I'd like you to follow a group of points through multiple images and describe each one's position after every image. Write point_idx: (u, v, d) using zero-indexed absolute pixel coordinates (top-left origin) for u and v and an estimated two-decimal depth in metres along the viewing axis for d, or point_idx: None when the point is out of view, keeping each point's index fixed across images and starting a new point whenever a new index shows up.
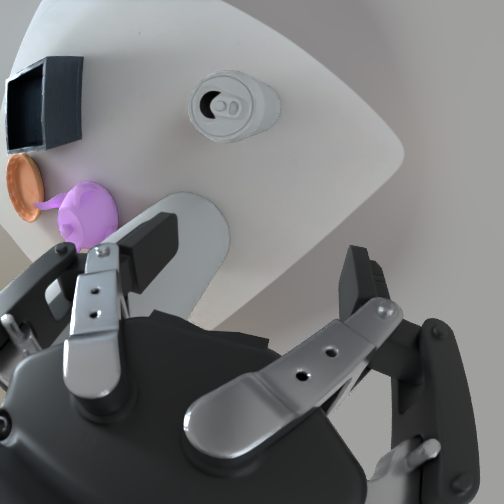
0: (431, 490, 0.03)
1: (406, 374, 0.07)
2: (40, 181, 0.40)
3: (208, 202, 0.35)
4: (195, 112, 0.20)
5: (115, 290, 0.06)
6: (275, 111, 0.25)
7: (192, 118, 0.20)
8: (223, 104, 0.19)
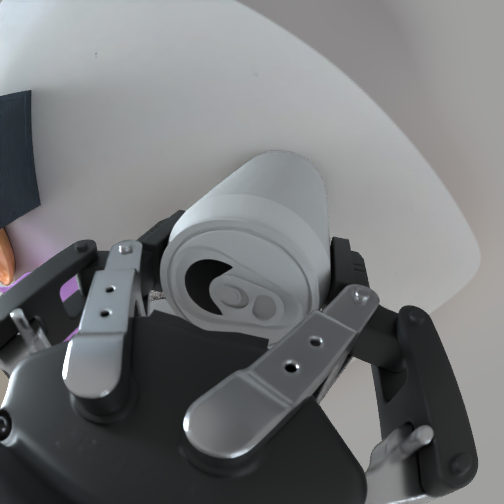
0: (430, 474, 0.03)
1: (384, 361, 0.07)
2: (6, 245, 0.30)
3: None
4: (178, 295, 0.10)
5: (130, 291, 0.06)
6: None
7: (173, 304, 0.10)
8: (241, 295, 0.09)
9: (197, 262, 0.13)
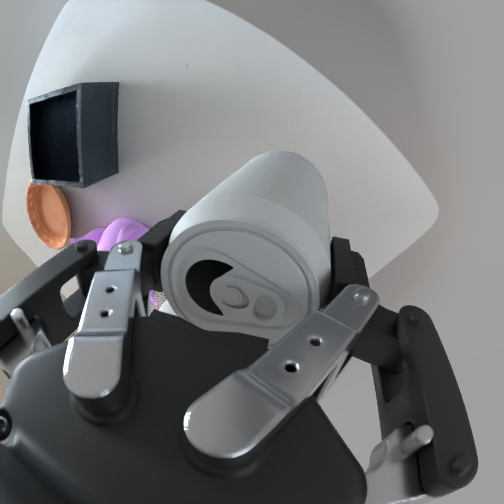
0: (431, 474, 0.03)
1: (384, 361, 0.07)
2: (68, 210, 0.43)
3: None
4: (178, 295, 0.10)
5: (130, 291, 0.06)
6: None
7: (174, 304, 0.10)
8: (241, 295, 0.09)
9: (198, 262, 0.13)
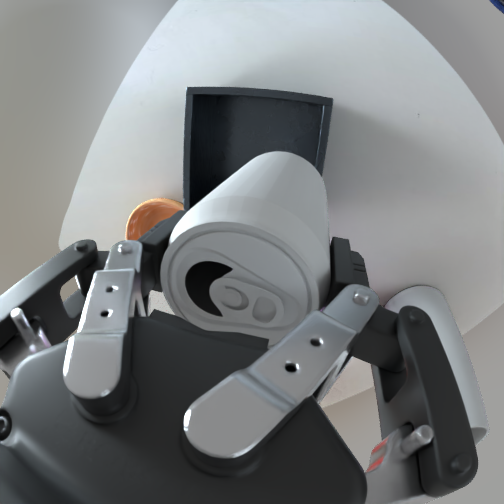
0: (430, 474, 0.03)
1: (384, 361, 0.07)
2: None
3: None
4: (178, 296, 0.10)
5: (130, 291, 0.06)
6: None
7: (174, 305, 0.10)
8: (241, 297, 0.09)
9: (197, 263, 0.13)
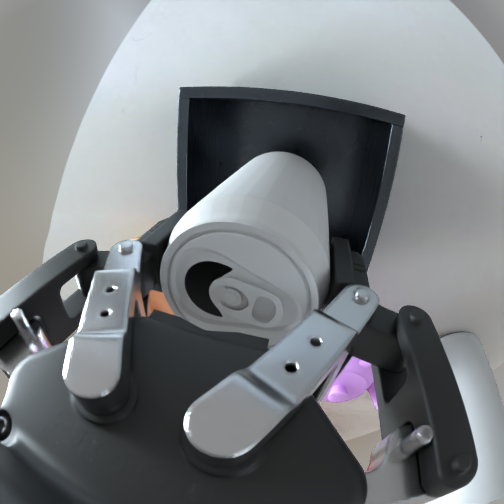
0: (430, 474, 0.03)
1: (384, 361, 0.07)
2: None
3: (479, 340, 0.27)
4: (178, 296, 0.10)
5: (130, 291, 0.06)
6: None
7: (173, 306, 0.10)
8: (240, 297, 0.09)
9: (197, 263, 0.13)
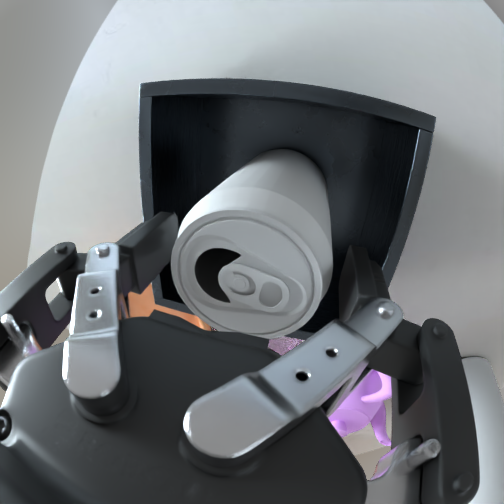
0: (431, 490, 0.03)
1: (406, 374, 0.07)
2: None
3: (490, 364, 0.23)
4: (187, 283, 0.10)
5: (115, 290, 0.06)
6: None
7: (183, 293, 0.11)
8: (248, 282, 0.10)
9: (204, 255, 0.14)
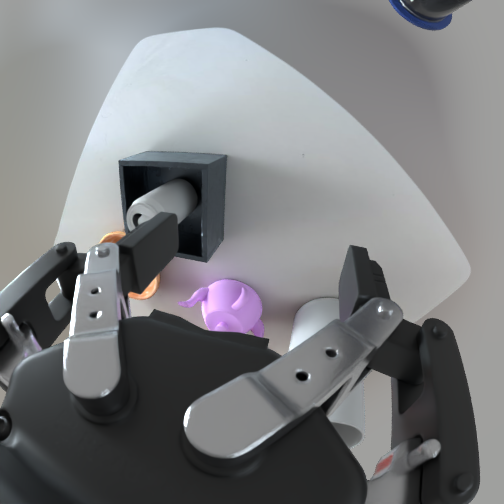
0: (431, 490, 0.03)
1: (406, 374, 0.07)
2: None
3: None
4: (131, 224, 0.35)
5: (115, 290, 0.06)
6: (187, 208, 0.40)
7: (130, 228, 0.35)
8: None
9: None
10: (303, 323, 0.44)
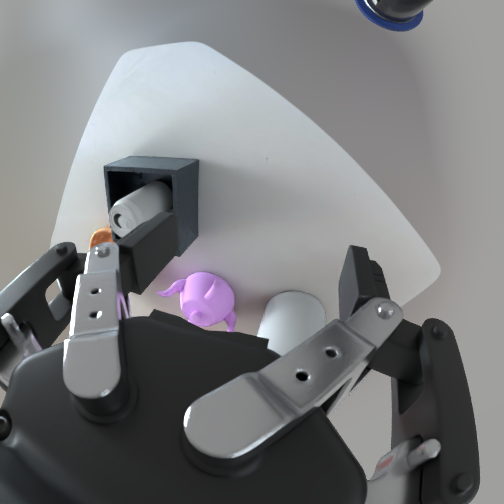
0: (431, 490, 0.03)
1: (406, 374, 0.07)
2: None
3: (316, 300, 0.51)
4: (112, 223, 0.39)
5: (115, 290, 0.06)
6: (163, 208, 0.44)
7: (112, 226, 0.39)
8: (123, 221, 0.38)
9: None
10: (269, 314, 0.49)
